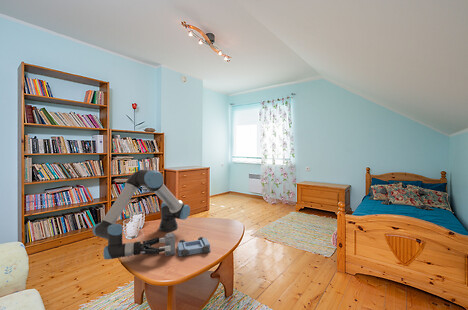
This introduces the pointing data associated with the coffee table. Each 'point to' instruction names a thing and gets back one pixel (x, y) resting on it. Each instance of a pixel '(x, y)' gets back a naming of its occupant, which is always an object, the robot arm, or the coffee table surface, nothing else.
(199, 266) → the coffee table surface
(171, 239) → the block
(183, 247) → the chassis
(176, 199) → the robot arm
